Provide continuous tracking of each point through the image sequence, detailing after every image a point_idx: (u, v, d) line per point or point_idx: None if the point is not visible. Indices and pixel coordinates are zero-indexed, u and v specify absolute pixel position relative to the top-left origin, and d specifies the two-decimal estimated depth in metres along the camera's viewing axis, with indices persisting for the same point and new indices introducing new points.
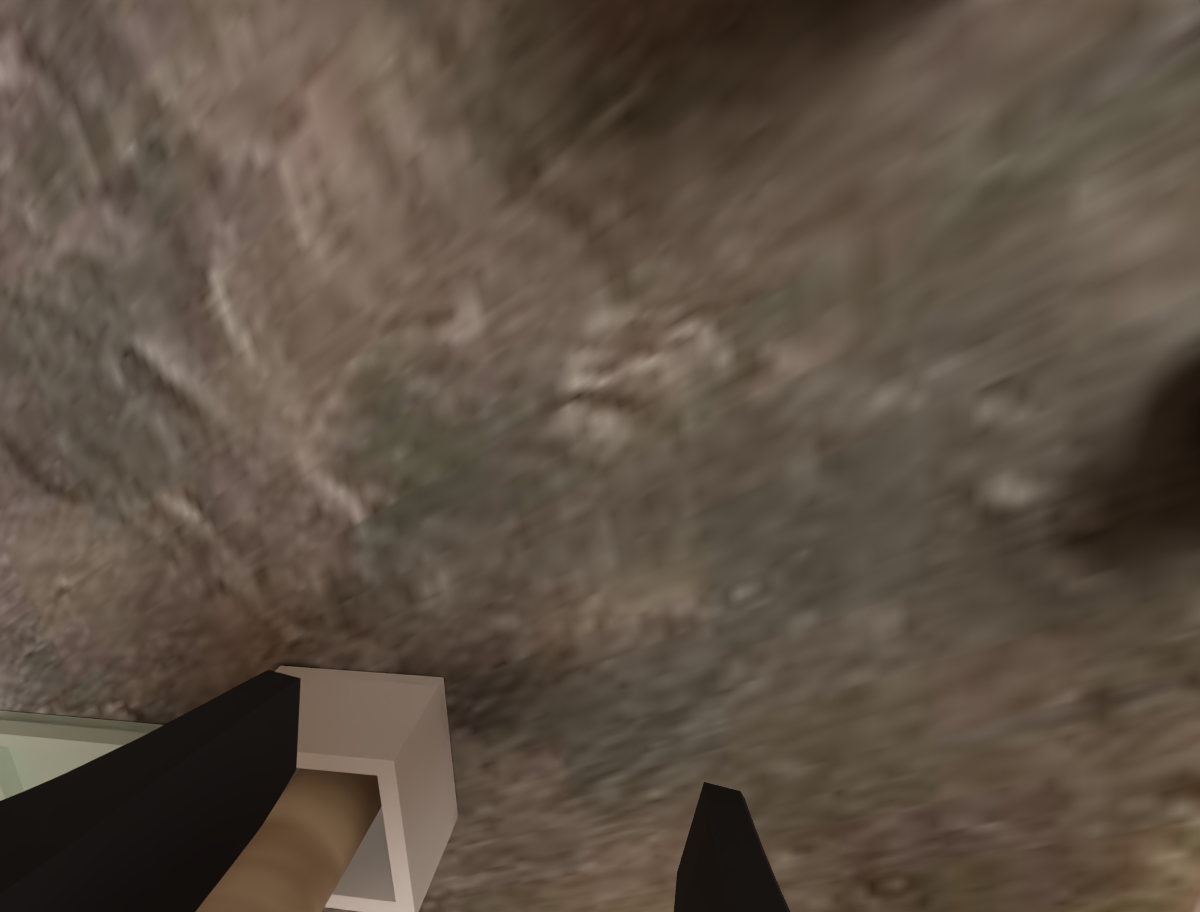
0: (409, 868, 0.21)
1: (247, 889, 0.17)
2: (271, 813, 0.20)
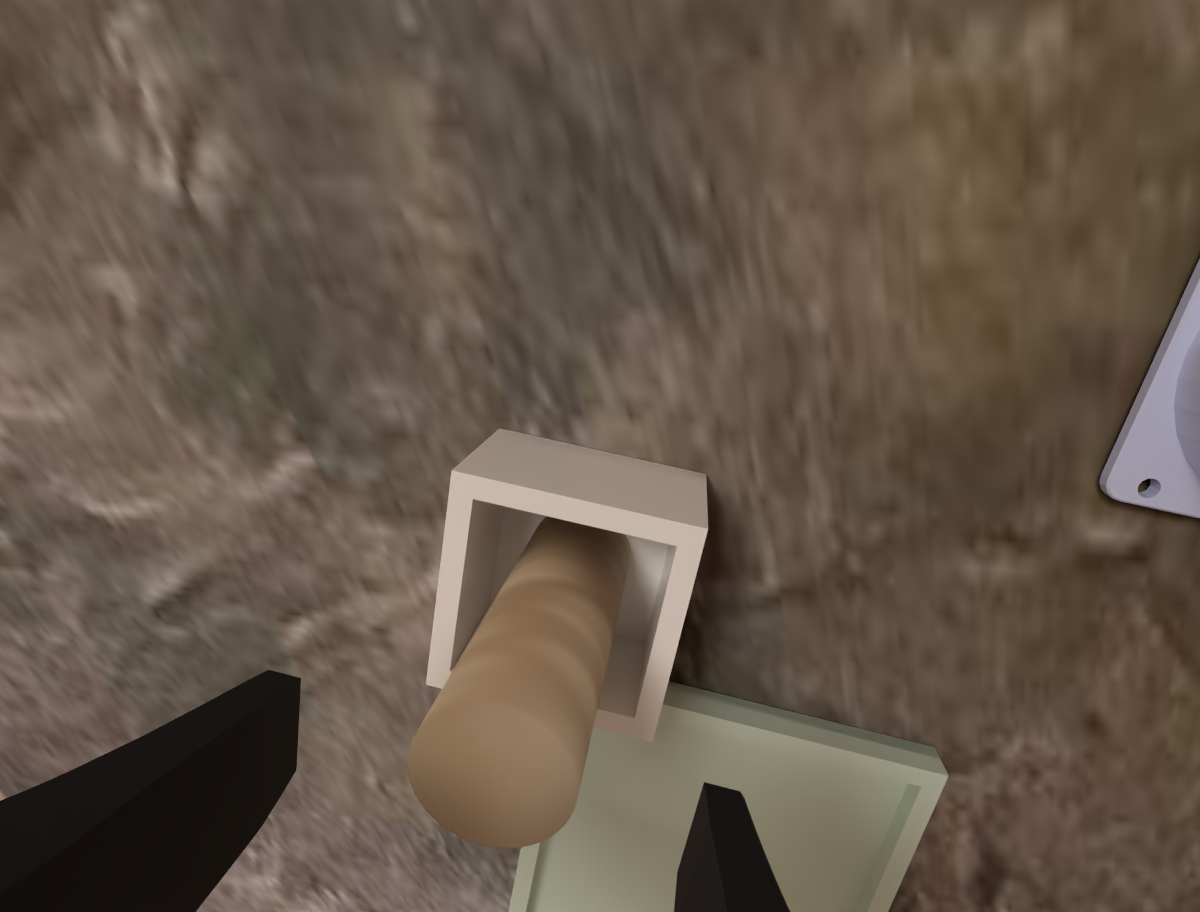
0: (622, 508, 0.15)
1: None
2: None
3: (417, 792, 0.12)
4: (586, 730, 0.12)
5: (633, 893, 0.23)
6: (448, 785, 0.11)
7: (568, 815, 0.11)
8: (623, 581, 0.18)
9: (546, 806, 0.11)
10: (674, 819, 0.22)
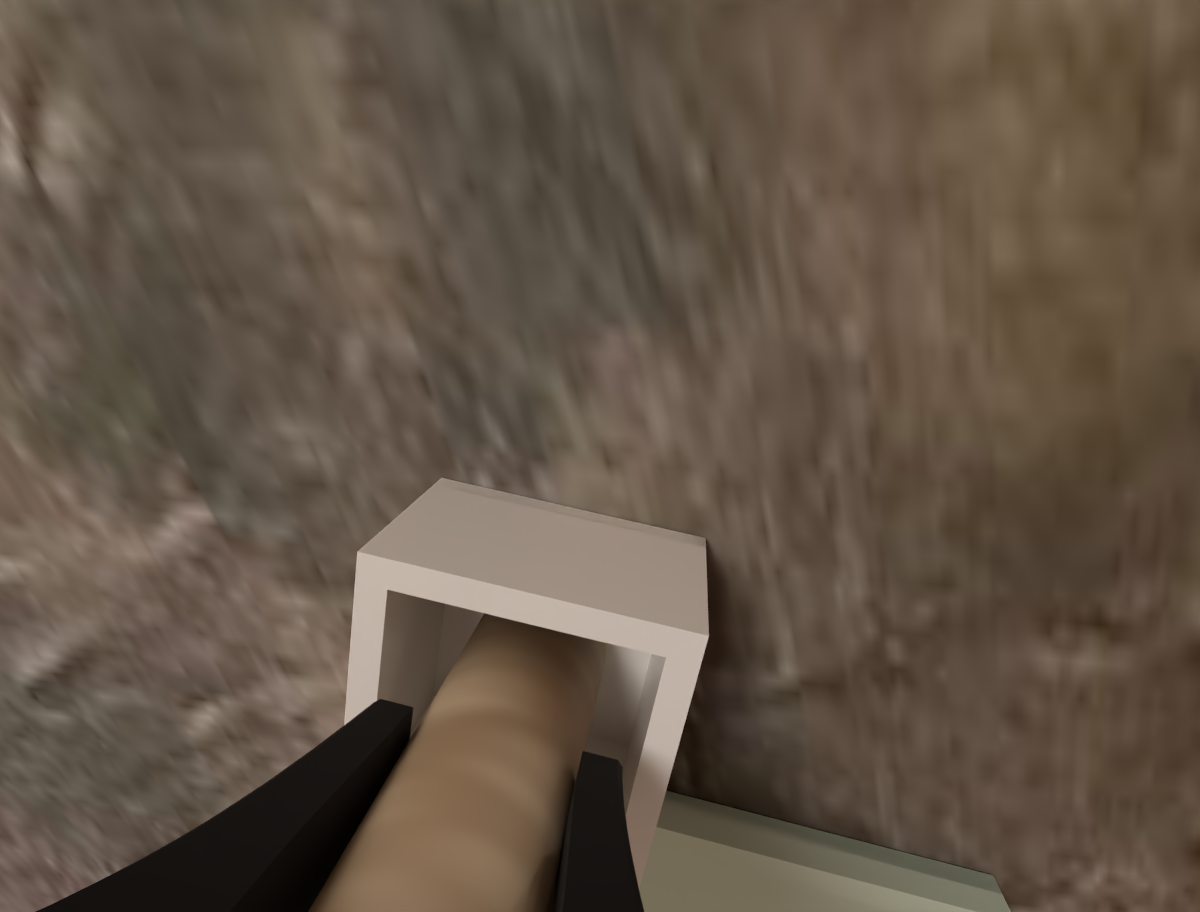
0: (590, 606, 0.11)
1: None
2: None
3: None
4: None
5: None
6: None
7: None
8: (596, 685, 0.13)
9: None
10: None
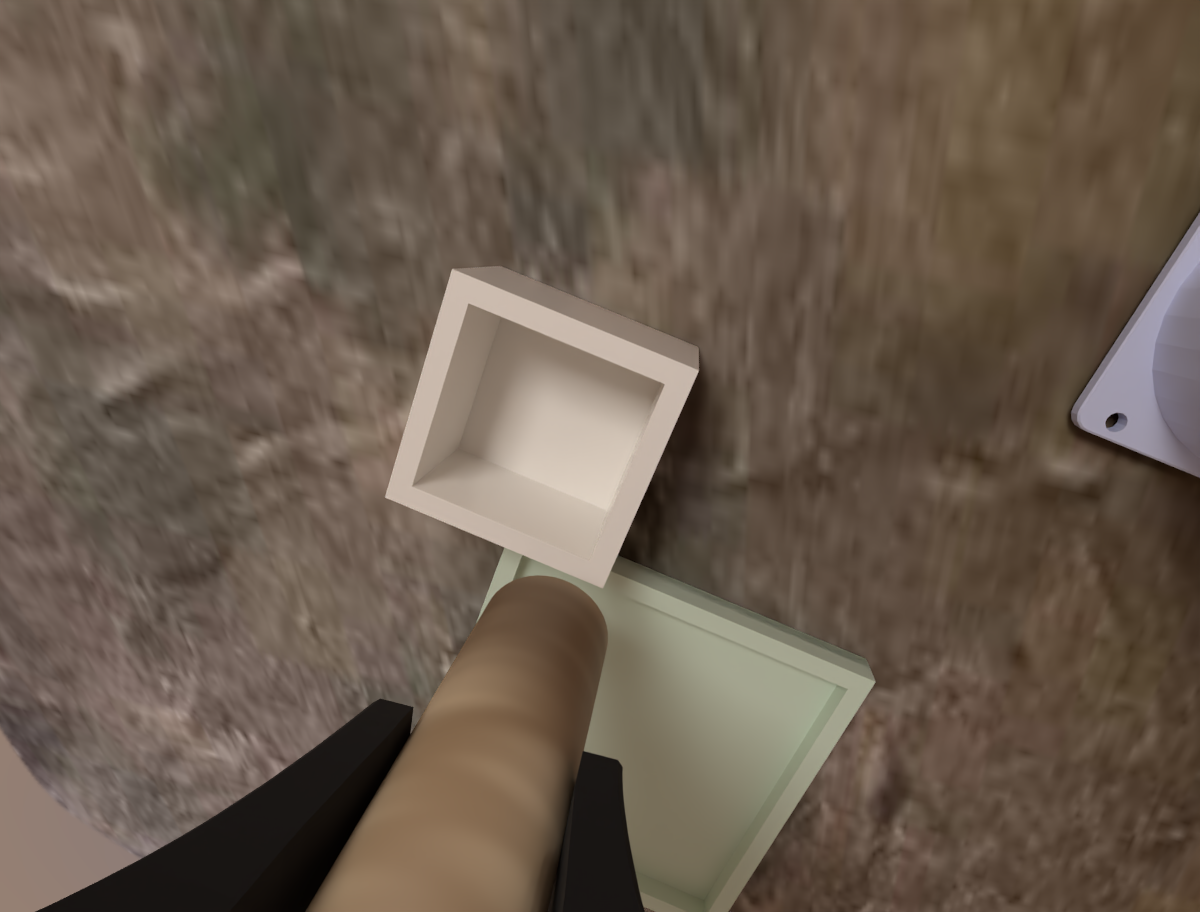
0: (617, 336, 0.15)
1: None
2: None
3: None
4: None
5: None
6: None
7: None
8: (596, 682, 0.13)
9: None
10: (603, 697, 0.22)
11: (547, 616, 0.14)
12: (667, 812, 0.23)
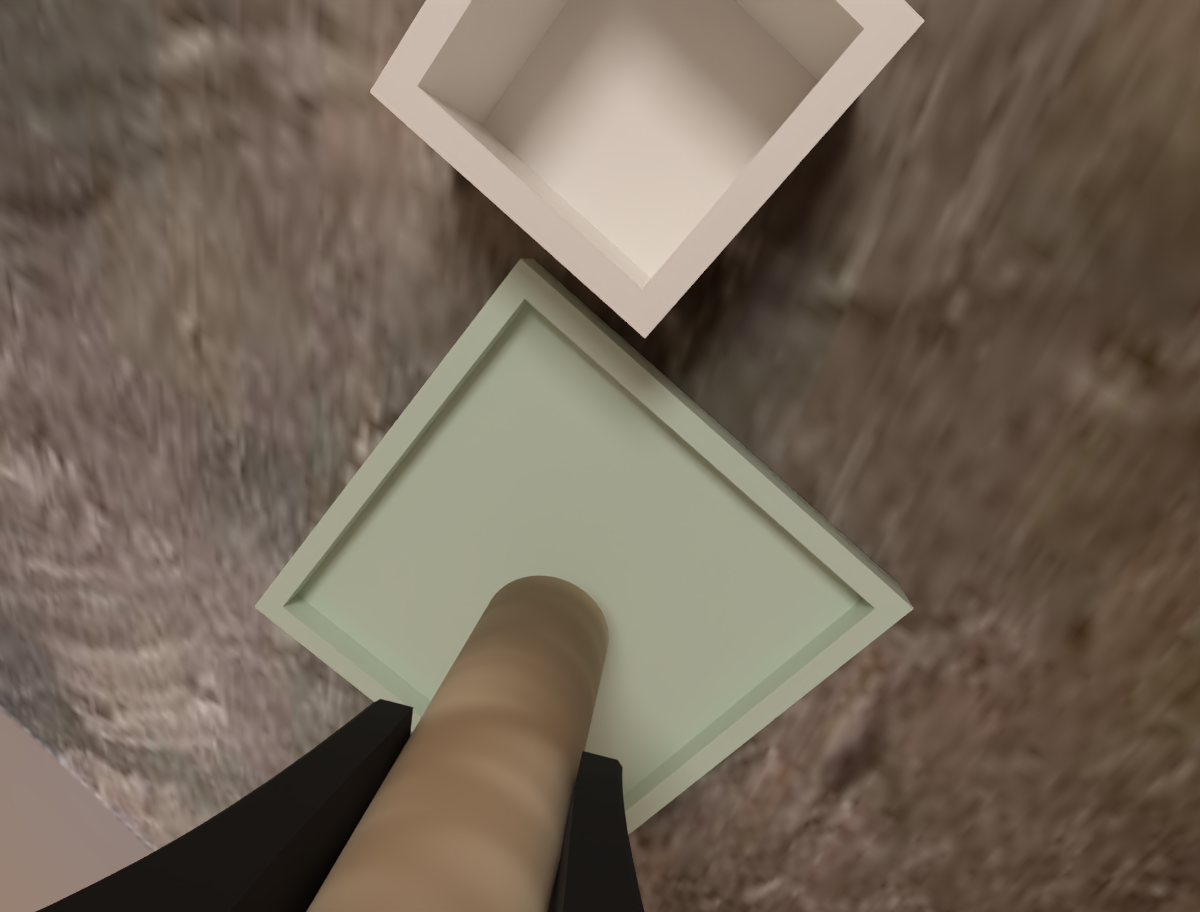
0: None
1: None
2: None
3: None
4: None
5: (453, 611, 0.18)
6: None
7: None
8: (596, 681, 0.13)
9: None
10: (555, 537, 0.17)
11: (546, 616, 0.14)
12: None
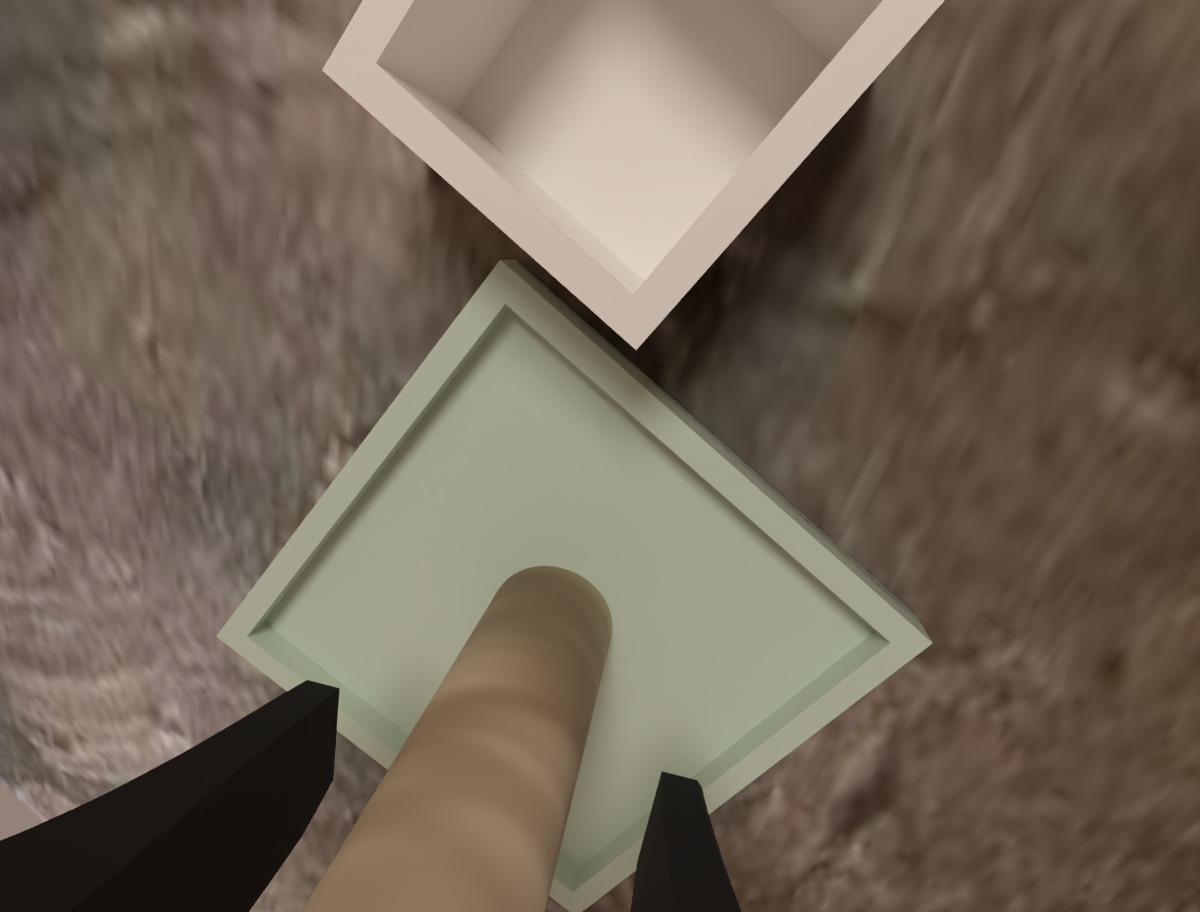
0: None
1: None
2: None
3: None
4: None
5: (432, 641, 0.17)
6: None
7: None
8: (600, 667, 0.14)
9: None
10: (542, 563, 0.16)
11: (552, 604, 0.14)
12: None
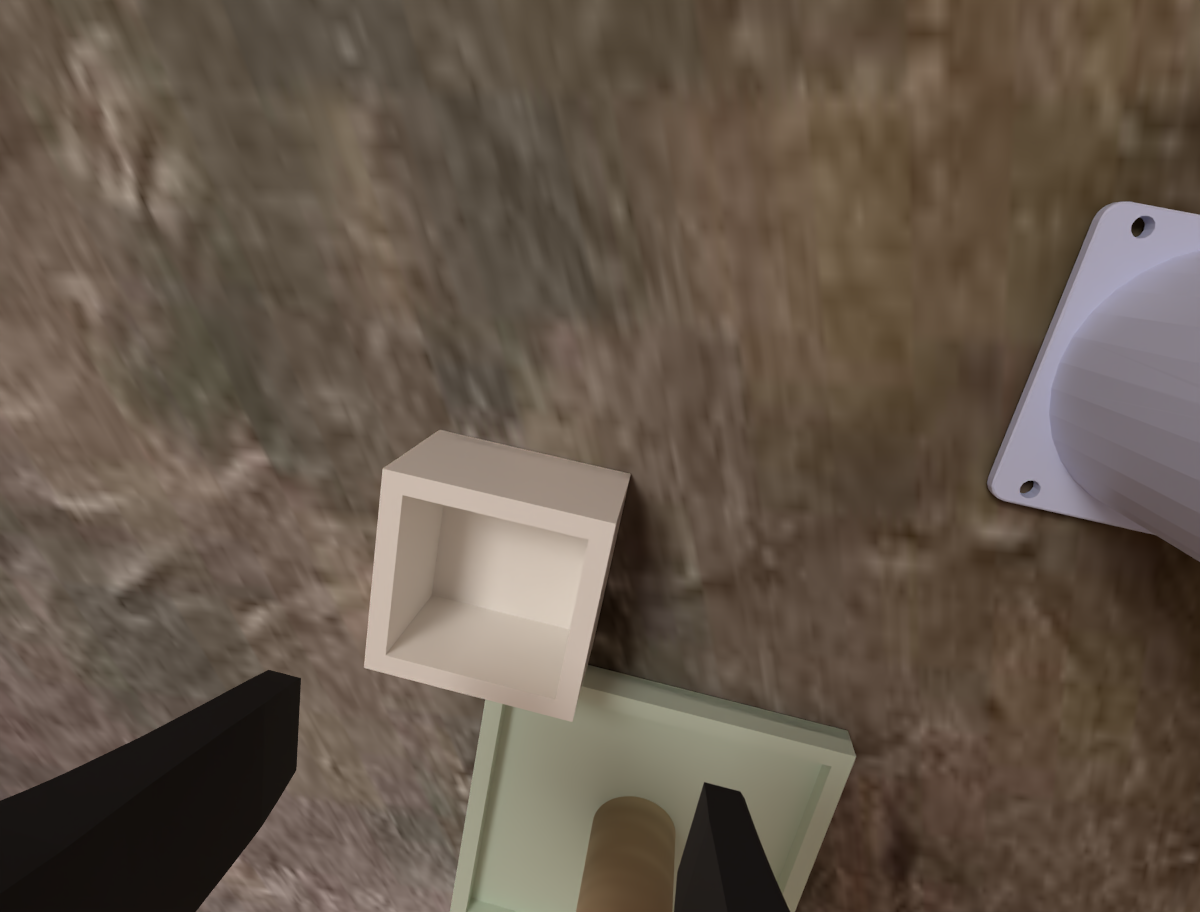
0: (538, 504, 0.17)
1: None
2: None
3: None
4: None
5: (572, 869, 0.25)
6: None
7: None
8: (665, 860, 0.22)
9: None
10: (608, 798, 0.24)
11: (619, 833, 0.22)
12: None
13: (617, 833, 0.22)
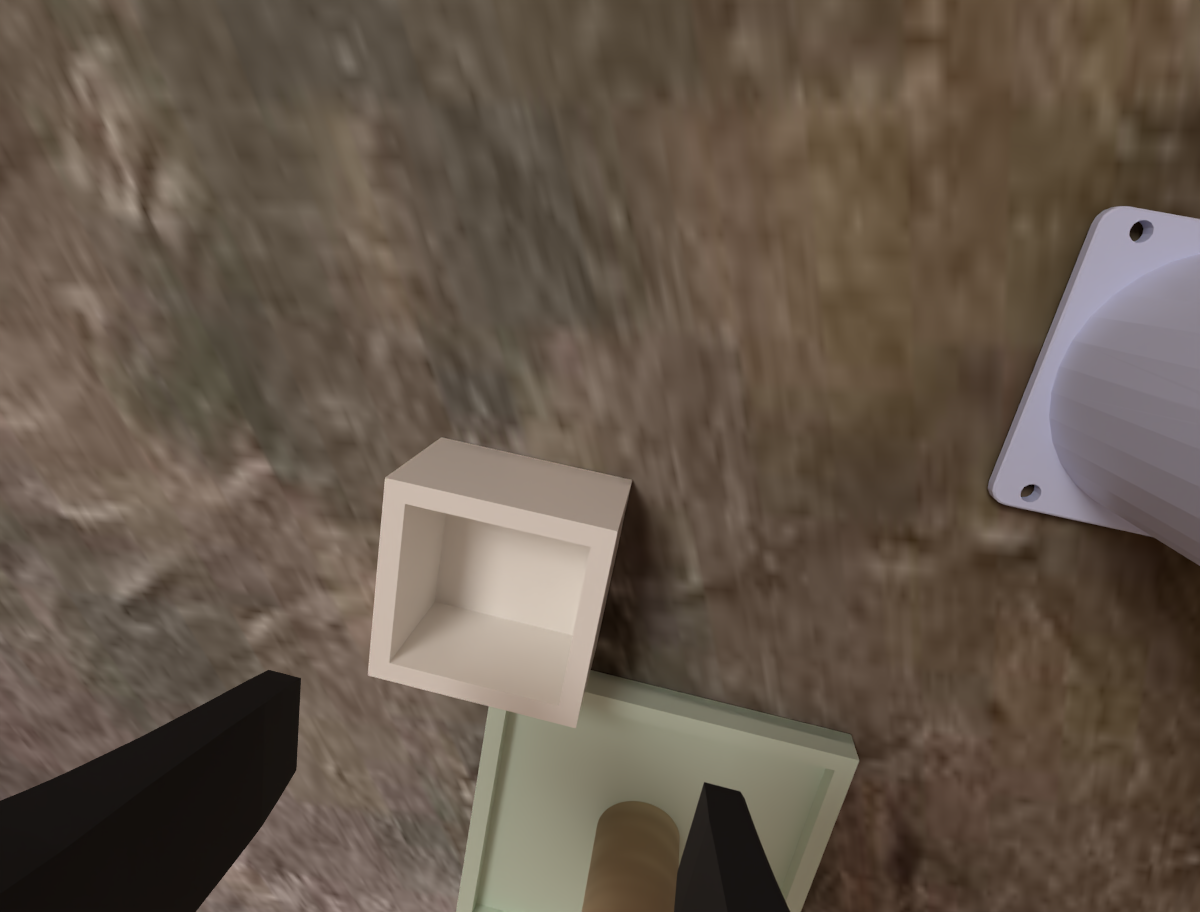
0: (540, 512, 0.17)
1: None
2: None
3: None
4: None
5: (576, 874, 0.25)
6: None
7: None
8: (669, 865, 0.22)
9: None
10: (612, 803, 0.24)
11: (623, 839, 0.22)
12: None
13: (621, 838, 0.22)
